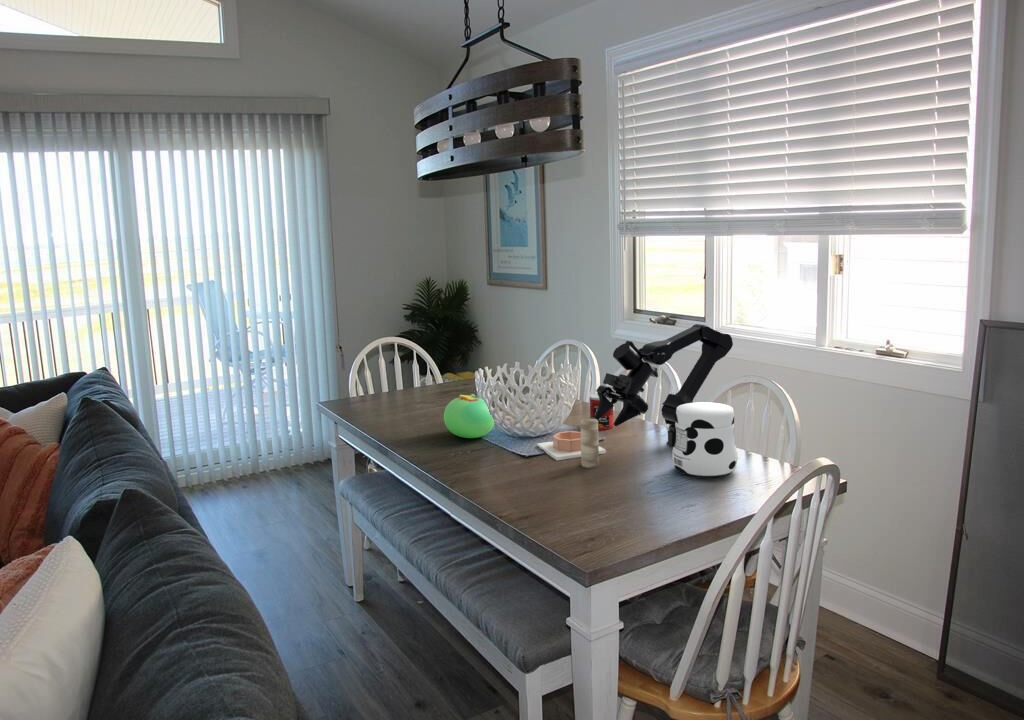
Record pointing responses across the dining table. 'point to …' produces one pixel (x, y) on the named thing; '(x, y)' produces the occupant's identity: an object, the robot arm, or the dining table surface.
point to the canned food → (606, 419)
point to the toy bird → (468, 417)
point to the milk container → (704, 440)
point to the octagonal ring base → (565, 446)
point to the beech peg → (589, 443)
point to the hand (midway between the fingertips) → (605, 422)
